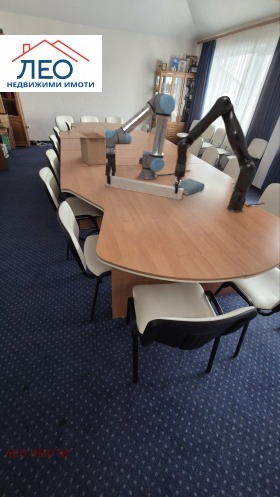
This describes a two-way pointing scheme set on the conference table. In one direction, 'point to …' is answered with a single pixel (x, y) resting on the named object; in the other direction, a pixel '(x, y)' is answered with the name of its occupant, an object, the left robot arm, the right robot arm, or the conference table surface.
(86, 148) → the box
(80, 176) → the conference table surface
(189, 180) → the book
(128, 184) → the bar
